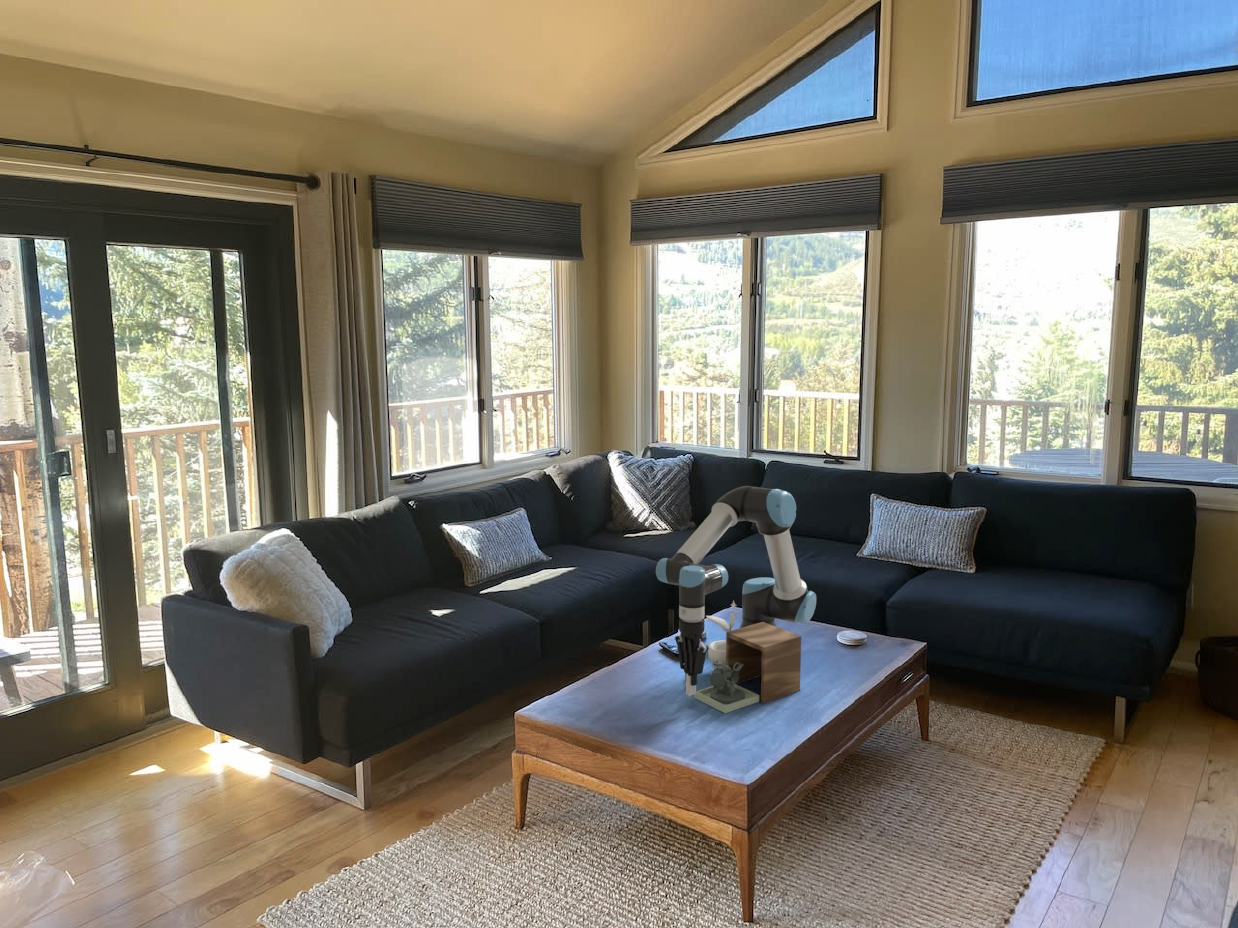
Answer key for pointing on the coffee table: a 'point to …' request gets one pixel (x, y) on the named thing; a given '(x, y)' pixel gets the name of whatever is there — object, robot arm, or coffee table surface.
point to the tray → (725, 708)
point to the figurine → (725, 683)
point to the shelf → (766, 658)
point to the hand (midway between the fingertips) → (691, 694)
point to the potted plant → (719, 647)
